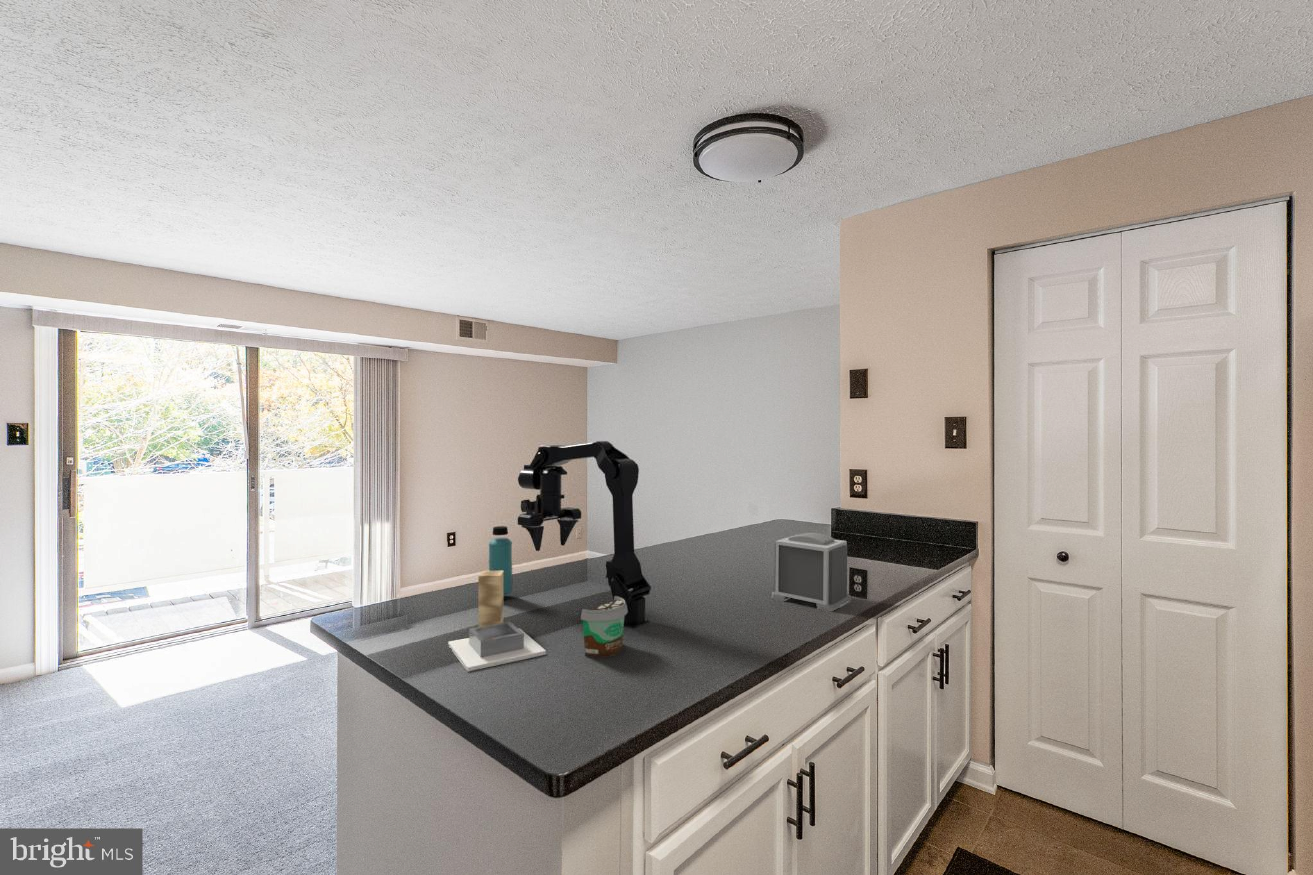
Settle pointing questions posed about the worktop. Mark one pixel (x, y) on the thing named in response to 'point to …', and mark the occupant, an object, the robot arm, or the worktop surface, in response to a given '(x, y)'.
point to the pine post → (490, 598)
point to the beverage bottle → (501, 557)
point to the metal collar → (496, 639)
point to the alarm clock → (811, 569)
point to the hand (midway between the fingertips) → (550, 548)
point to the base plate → (475, 662)
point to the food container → (604, 628)
